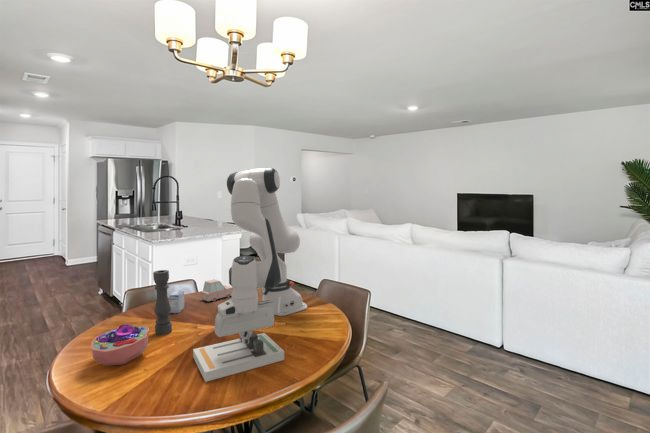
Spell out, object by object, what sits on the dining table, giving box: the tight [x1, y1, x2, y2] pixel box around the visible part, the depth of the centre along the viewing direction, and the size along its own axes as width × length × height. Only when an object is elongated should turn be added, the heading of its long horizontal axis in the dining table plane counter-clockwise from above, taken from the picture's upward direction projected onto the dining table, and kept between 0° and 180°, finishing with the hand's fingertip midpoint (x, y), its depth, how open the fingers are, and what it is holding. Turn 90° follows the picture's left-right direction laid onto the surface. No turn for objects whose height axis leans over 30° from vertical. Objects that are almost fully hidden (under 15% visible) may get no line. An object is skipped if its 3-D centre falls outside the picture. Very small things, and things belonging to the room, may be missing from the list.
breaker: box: [251, 339, 266, 357], centre depth 117 cm, size 4×4×4 cm
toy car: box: [200, 279, 233, 303], centre depth 186 cm, size 9×15×10 cm, turn 139°
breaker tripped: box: [246, 332, 258, 349], centre depth 122 cm, size 4×4×4 cm
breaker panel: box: [192, 332, 285, 383], centre depth 120 cm, size 26×18×3 cm
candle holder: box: [152, 269, 173, 336], centre depth 141 cm, size 6×6×25 cm
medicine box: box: [168, 290, 185, 314], centre depth 168 cm, size 8×4×9 cm, turn 5°
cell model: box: [90, 323, 150, 367], centre depth 119 cm, size 17×20×11 cm
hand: (245, 343), depth 121 cm, fingers closed
